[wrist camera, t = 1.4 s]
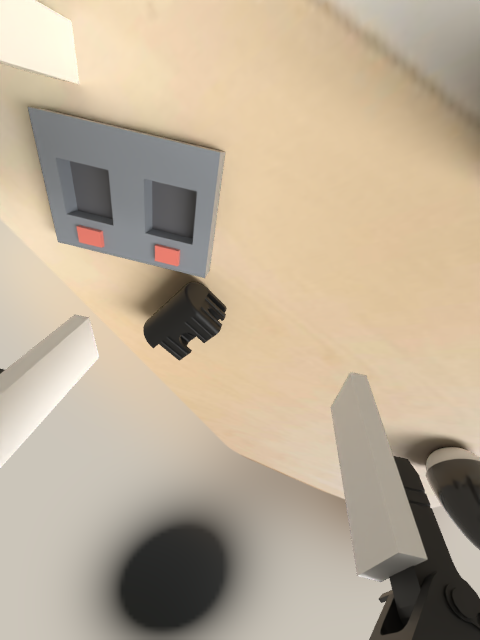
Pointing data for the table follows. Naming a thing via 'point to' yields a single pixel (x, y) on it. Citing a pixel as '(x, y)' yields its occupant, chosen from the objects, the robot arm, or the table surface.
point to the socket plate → (129, 191)
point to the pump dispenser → (457, 487)
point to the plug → (37, 40)
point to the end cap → (185, 320)
